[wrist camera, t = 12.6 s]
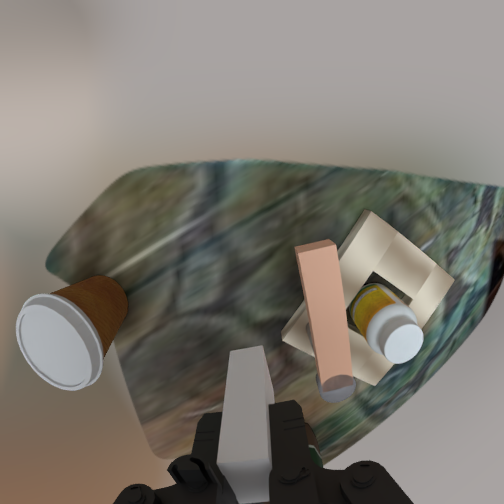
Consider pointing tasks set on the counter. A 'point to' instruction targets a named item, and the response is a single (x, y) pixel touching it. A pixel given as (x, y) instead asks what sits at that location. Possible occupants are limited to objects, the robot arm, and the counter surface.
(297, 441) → the robot arm
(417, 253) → the keeper board
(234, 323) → the counter surface
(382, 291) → the supplement bottle
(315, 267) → the bar
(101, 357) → the disposable coffee cup
